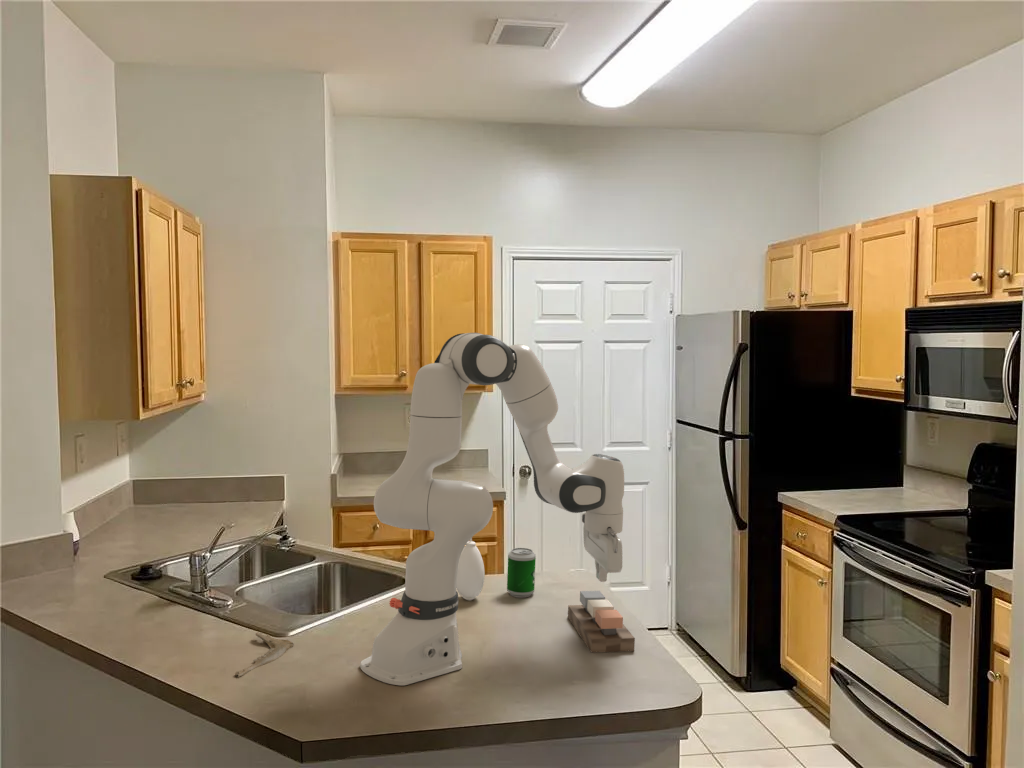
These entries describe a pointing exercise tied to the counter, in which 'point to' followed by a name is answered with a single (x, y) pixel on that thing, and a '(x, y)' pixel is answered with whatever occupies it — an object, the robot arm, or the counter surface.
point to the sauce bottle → (470, 572)
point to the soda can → (521, 572)
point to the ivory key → (598, 607)
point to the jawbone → (268, 653)
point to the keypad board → (599, 633)
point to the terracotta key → (609, 621)
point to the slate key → (590, 597)
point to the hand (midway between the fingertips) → (601, 579)
